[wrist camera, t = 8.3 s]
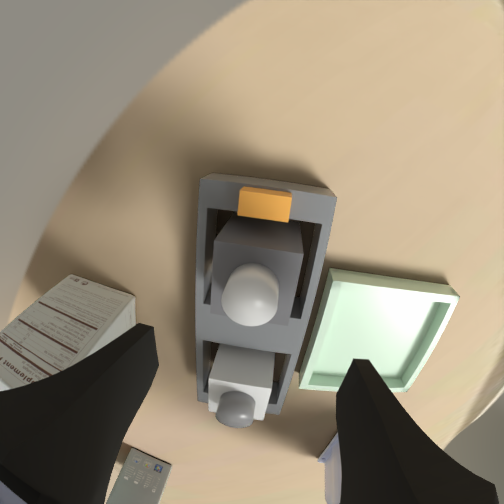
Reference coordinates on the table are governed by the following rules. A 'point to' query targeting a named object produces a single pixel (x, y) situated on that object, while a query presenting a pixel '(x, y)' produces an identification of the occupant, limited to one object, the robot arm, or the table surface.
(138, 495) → the hard drive box
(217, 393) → the twin plug
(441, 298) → the tray
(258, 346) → the power strip
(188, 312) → the table surface
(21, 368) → the supplement box
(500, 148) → the table surface
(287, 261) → the plug
